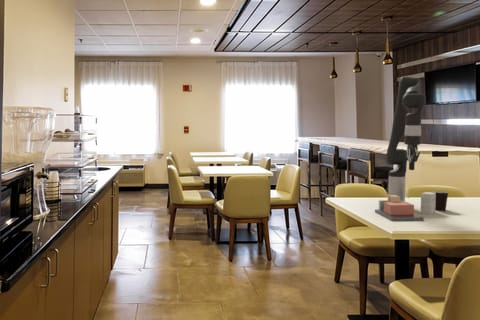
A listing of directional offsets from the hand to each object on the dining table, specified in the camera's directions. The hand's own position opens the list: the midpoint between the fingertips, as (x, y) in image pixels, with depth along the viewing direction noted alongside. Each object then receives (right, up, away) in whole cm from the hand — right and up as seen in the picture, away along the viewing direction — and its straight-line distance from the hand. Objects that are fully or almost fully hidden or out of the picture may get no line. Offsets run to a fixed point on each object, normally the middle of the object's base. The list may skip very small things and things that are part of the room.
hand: (411, 169), depth 215 cm
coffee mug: (+27, -23, +28) cm, 45 cm away
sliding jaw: (-3, -22, +9) cm, 24 cm away
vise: (-3, -24, +10) cm, 26 cm away
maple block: (-3, -22, +16) cm, 28 cm away
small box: (+16, -24, +20) cm, 35 cm away
